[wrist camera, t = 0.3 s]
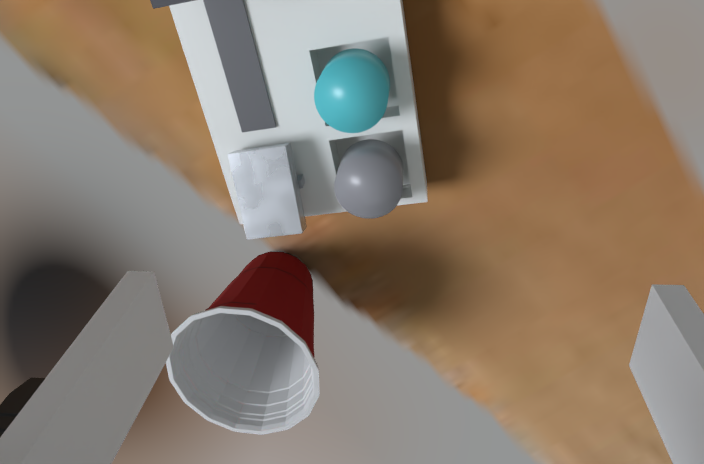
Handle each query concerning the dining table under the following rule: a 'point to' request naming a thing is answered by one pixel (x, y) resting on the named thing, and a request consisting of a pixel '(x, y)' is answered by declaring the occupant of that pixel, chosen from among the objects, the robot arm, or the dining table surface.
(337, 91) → the teal button
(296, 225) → the white block with nub
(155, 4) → the slider knob
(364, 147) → the grey button
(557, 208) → the dining table surface
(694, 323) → the robot arm
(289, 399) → the plastic cup
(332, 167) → the panel
